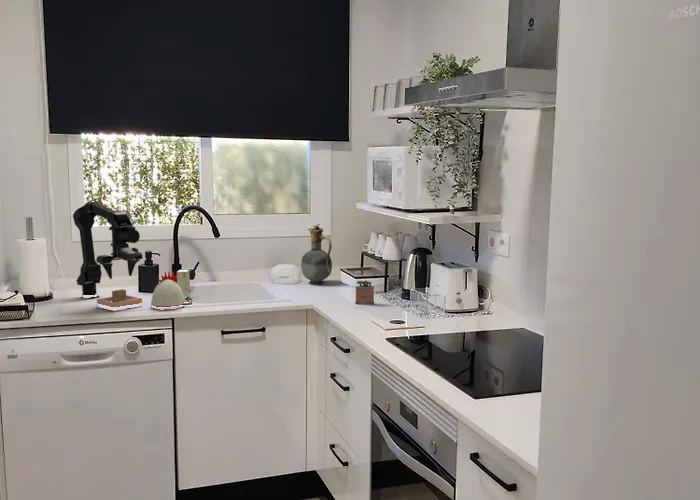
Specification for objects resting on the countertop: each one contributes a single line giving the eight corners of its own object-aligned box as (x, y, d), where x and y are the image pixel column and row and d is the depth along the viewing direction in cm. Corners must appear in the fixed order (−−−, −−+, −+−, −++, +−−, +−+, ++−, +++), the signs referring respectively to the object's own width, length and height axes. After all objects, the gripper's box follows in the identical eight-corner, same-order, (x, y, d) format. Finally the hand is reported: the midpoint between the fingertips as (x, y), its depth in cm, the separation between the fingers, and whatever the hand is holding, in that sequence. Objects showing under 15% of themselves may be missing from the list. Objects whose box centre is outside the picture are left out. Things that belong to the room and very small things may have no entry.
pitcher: (315, 280, 341) (314, 221, 337) (339, 285, 327) (339, 224, 323) (298, 283, 334) (297, 223, 330) (322, 288, 320) (321, 225, 316)
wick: (112, 305, 279) (111, 291, 278) (123, 303, 283) (122, 289, 282) (116, 305, 278) (115, 291, 277) (126, 303, 282) (125, 289, 281)
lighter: (374, 303, 285) (374, 280, 284) (373, 304, 282) (373, 281, 281) (355, 302, 286) (355, 279, 285) (354, 304, 283) (354, 281, 281)
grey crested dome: (187, 308, 277) (186, 272, 275) (153, 311, 272) (151, 275, 270) (182, 302, 290) (181, 268, 288) (150, 304, 285) (148, 270, 283)
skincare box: (187, 298, 296) (186, 271, 295) (177, 298, 296) (176, 271, 295) (190, 295, 303) (189, 269, 301) (181, 296, 303) (180, 269, 301)
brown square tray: (97, 307, 280) (96, 298, 279) (124, 302, 290) (124, 293, 289) (114, 311, 271) (114, 302, 271) (142, 306, 282) (141, 296, 281)
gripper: (109, 245, 271) (110, 282, 273) (149, 240, 285) (150, 276, 287) (95, 242, 278) (96, 279, 280) (134, 238, 292) (135, 273, 294)
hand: (120, 277), depth 285 cm, fingers open, 9 cm apart
